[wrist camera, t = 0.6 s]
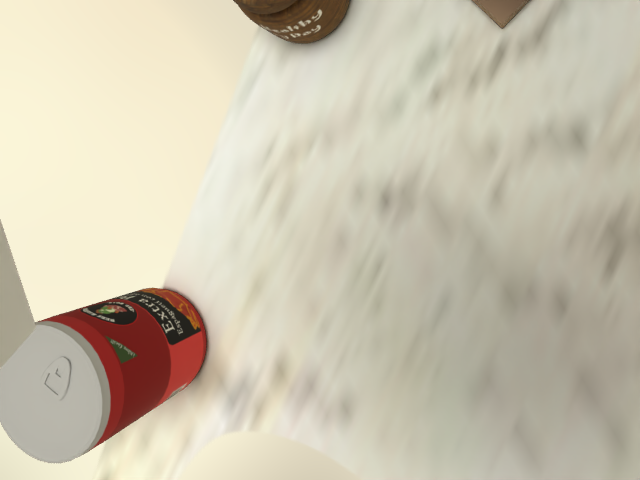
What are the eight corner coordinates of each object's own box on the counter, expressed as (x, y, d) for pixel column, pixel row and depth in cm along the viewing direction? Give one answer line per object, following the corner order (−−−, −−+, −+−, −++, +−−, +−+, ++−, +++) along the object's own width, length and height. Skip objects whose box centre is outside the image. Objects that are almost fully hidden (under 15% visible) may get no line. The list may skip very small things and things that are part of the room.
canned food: (221, 306, 38) (114, 354, 28) (196, 408, 40) (86, 490, 30) (131, 269, 40) (0, 302, 30) (110, 368, 42) (-21, 431, 32)
